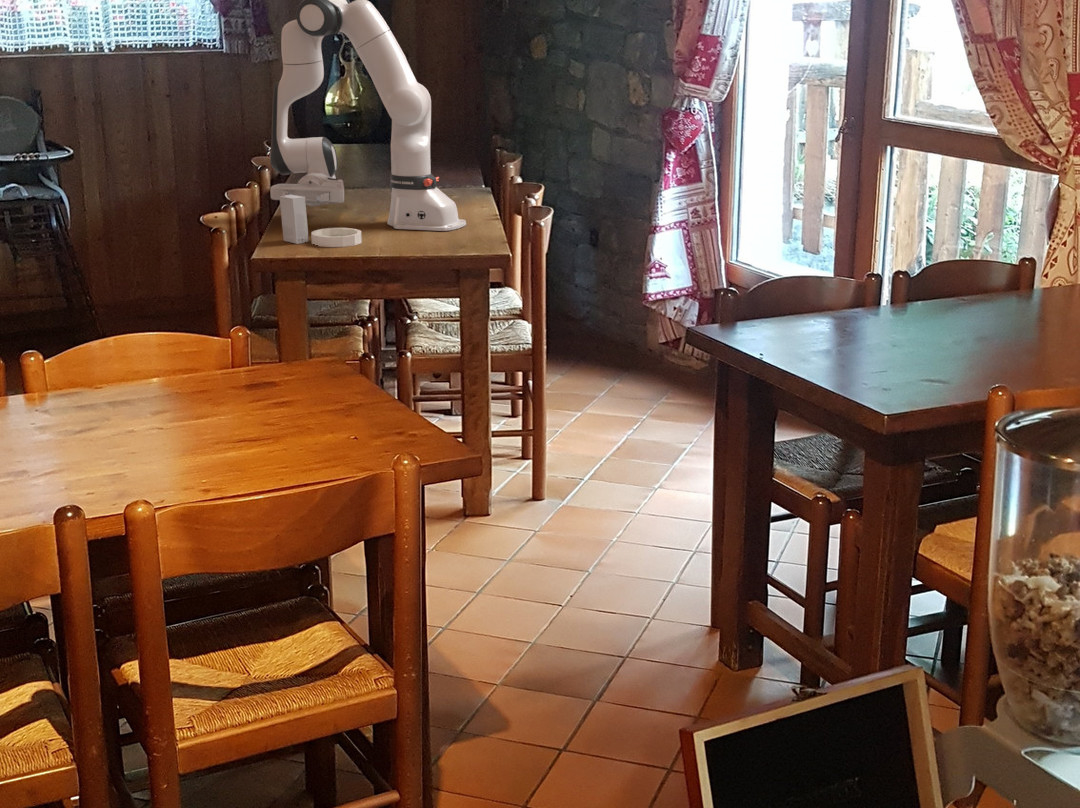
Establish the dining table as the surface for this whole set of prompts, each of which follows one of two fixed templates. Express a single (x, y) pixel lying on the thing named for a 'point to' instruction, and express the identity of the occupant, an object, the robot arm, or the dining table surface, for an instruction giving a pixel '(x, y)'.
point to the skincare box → (294, 219)
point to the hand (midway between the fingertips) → (302, 197)
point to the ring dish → (336, 237)
